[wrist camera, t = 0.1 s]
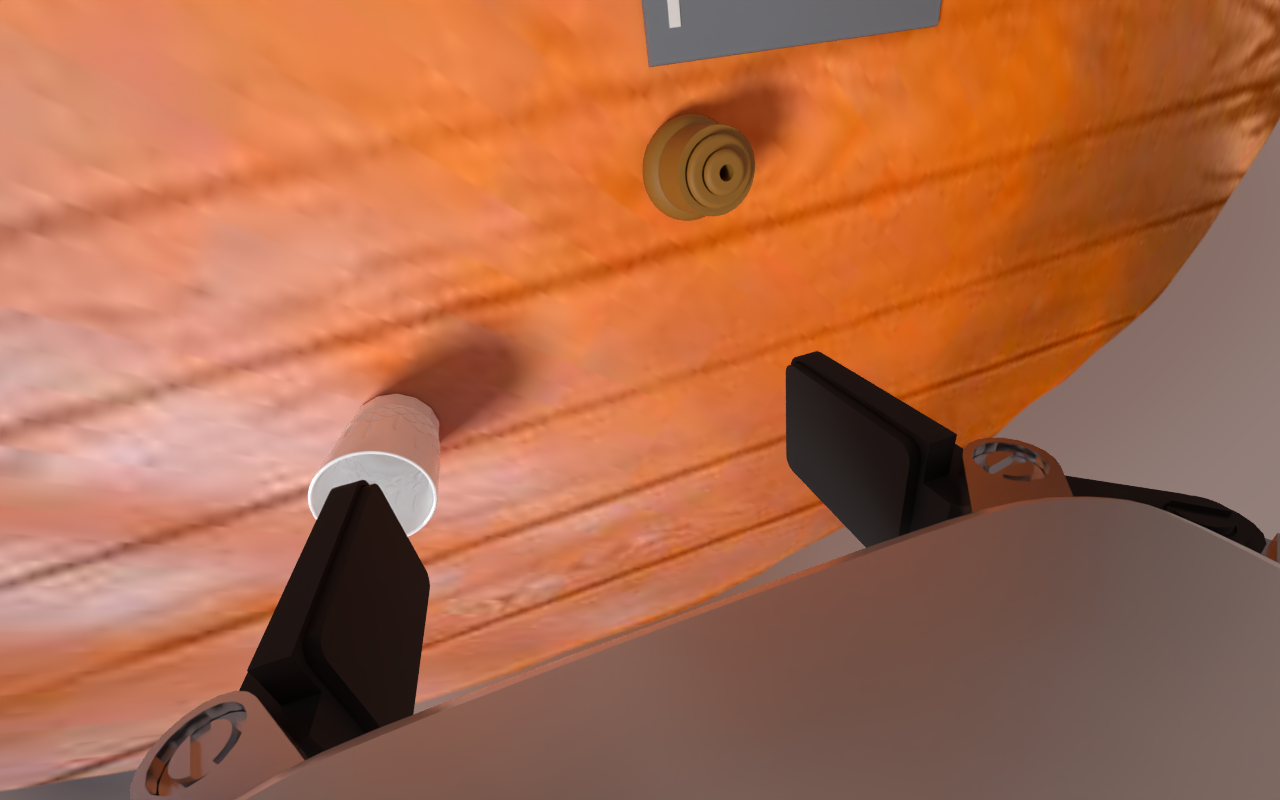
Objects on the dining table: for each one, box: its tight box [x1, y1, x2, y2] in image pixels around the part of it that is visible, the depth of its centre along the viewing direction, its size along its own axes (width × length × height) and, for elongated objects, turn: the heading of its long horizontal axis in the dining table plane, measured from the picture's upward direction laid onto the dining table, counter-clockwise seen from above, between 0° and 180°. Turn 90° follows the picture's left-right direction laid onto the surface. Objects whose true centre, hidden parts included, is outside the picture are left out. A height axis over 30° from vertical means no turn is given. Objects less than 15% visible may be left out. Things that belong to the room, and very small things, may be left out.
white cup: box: [308, 394, 440, 537], centre depth 37 cm, size 8×8×10 cm
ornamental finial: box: [643, 114, 755, 221], centre depth 35 cm, size 8×8×8 cm
